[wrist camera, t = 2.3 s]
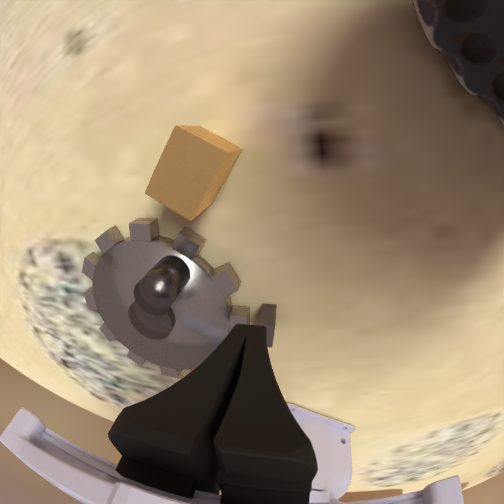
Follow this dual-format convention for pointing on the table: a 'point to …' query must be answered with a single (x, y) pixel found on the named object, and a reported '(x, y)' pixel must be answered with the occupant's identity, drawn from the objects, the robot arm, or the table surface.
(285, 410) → the robot arm
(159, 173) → the link block
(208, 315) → the sprocket
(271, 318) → the block
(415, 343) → the table surface
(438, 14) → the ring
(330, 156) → the table surface
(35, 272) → the table surface
